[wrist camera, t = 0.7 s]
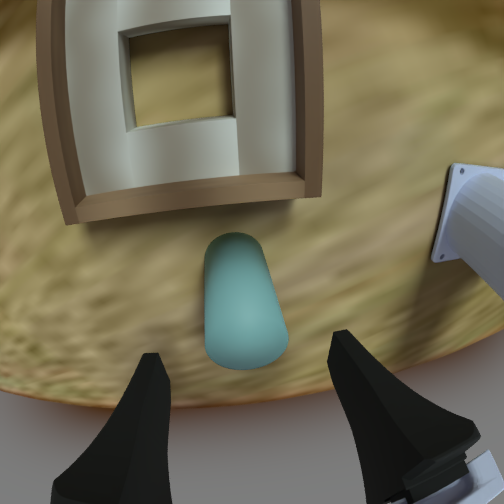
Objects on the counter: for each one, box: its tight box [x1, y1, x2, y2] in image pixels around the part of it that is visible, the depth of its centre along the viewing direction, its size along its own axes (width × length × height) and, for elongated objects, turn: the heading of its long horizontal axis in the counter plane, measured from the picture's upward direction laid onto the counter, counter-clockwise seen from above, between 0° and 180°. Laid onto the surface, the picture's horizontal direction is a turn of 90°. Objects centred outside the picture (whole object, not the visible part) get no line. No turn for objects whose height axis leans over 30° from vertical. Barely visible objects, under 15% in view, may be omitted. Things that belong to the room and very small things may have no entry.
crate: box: [36, 0, 324, 225], centre depth 10 cm, size 12×14×4 cm
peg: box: [204, 232, 289, 370], centre depth 15 cm, size 4×4×7 cm
